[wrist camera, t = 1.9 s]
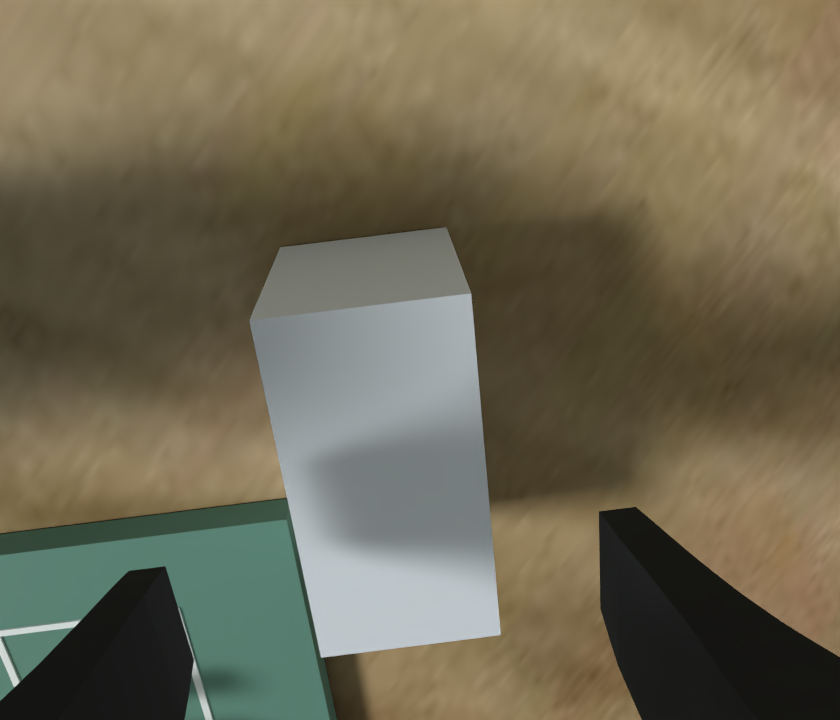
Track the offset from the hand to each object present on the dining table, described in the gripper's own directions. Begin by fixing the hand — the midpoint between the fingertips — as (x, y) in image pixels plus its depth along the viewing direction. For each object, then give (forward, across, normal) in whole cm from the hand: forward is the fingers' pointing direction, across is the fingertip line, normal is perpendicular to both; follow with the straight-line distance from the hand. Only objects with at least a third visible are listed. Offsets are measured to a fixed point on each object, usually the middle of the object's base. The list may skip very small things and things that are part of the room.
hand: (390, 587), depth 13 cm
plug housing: (+8, 0, 0) cm, 8 cm away
